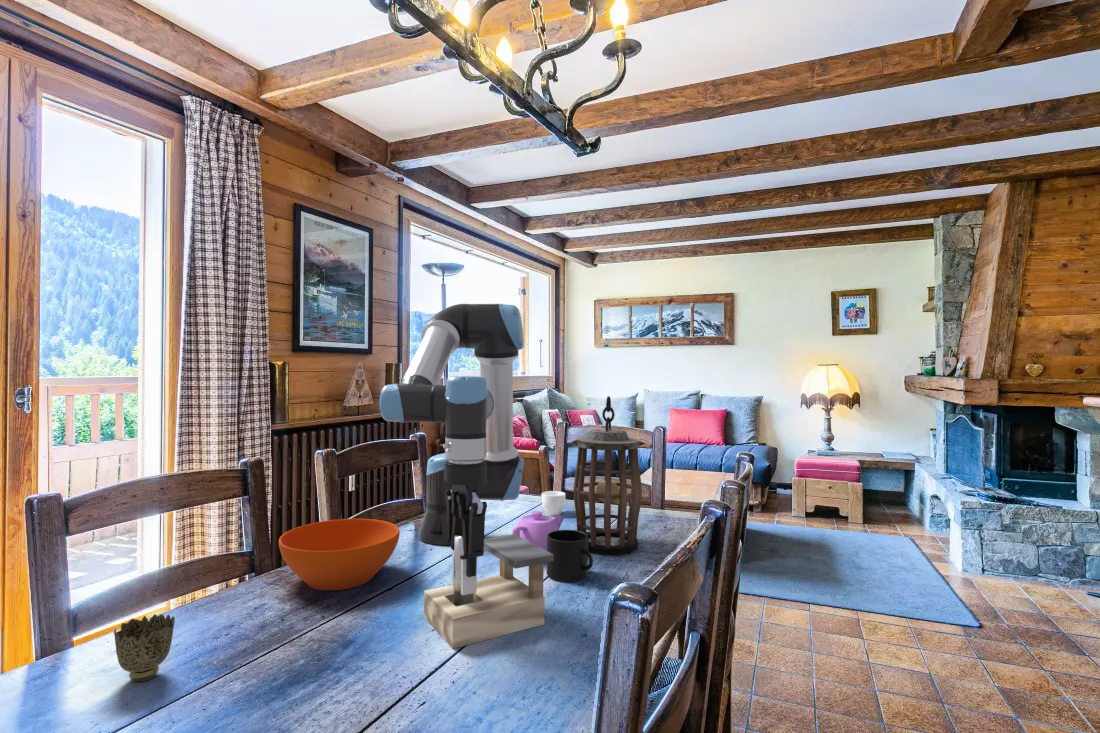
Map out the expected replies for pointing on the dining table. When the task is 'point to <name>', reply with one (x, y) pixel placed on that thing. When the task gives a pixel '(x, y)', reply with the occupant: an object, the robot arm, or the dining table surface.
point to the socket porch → (493, 597)
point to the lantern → (608, 489)
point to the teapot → (537, 528)
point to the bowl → (339, 551)
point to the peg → (459, 574)
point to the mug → (568, 555)
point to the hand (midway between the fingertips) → (463, 588)
